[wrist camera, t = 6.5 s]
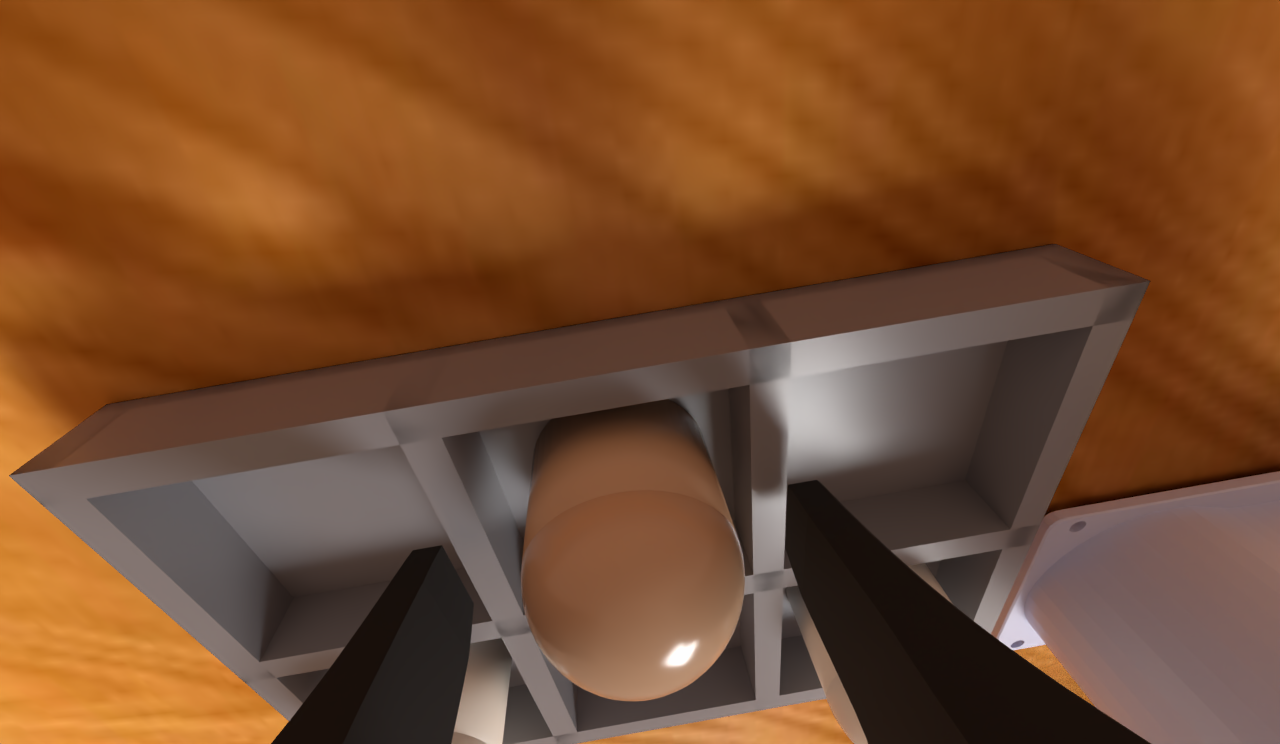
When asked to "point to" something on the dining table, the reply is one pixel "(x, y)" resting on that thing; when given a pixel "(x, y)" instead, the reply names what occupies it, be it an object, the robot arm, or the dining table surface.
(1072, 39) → the dining table surface
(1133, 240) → the dining table surface
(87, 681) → the dining table surface
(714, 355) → the egg carton
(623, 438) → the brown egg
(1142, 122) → the dining table surface
